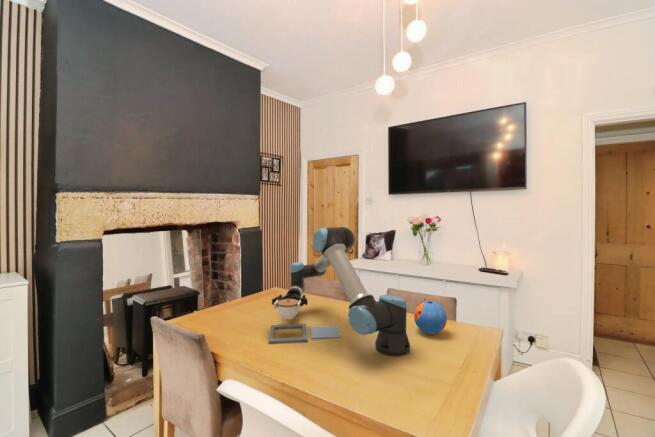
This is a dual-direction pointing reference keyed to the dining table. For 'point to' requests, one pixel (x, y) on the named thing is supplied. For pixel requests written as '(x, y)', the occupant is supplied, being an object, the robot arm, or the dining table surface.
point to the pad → (324, 332)
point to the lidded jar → (287, 308)
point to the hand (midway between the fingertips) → (286, 306)
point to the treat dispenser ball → (430, 317)
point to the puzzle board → (288, 340)
